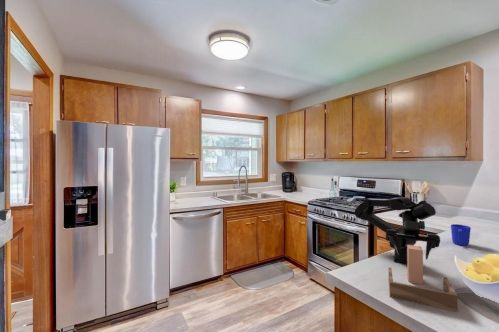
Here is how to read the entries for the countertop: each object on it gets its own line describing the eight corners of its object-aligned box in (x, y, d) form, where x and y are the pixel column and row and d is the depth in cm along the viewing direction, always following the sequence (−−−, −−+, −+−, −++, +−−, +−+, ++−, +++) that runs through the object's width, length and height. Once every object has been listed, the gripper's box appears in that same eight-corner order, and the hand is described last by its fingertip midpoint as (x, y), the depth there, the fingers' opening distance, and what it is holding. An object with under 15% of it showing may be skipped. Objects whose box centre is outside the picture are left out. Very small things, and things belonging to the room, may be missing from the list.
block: (407, 276, 95) (407, 244, 95) (420, 279, 93) (420, 246, 93) (408, 281, 91) (408, 248, 91) (422, 284, 89) (422, 250, 89)
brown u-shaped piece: (388, 279, 93) (388, 267, 93) (446, 291, 84) (446, 277, 84) (389, 296, 82) (389, 282, 82) (457, 311, 73) (457, 295, 73)
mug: (449, 246, 128) (450, 227, 127) (451, 240, 137) (451, 223, 136) (470, 250, 122) (470, 230, 122) (470, 243, 131) (470, 225, 131)
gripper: (385, 210, 104) (385, 243, 95) (439, 215, 95) (445, 251, 85) (385, 224, 111) (385, 255, 102) (435, 229, 102) (441, 264, 92)
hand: (412, 256), depth 95 cm, fingers open, 9 cm apart
